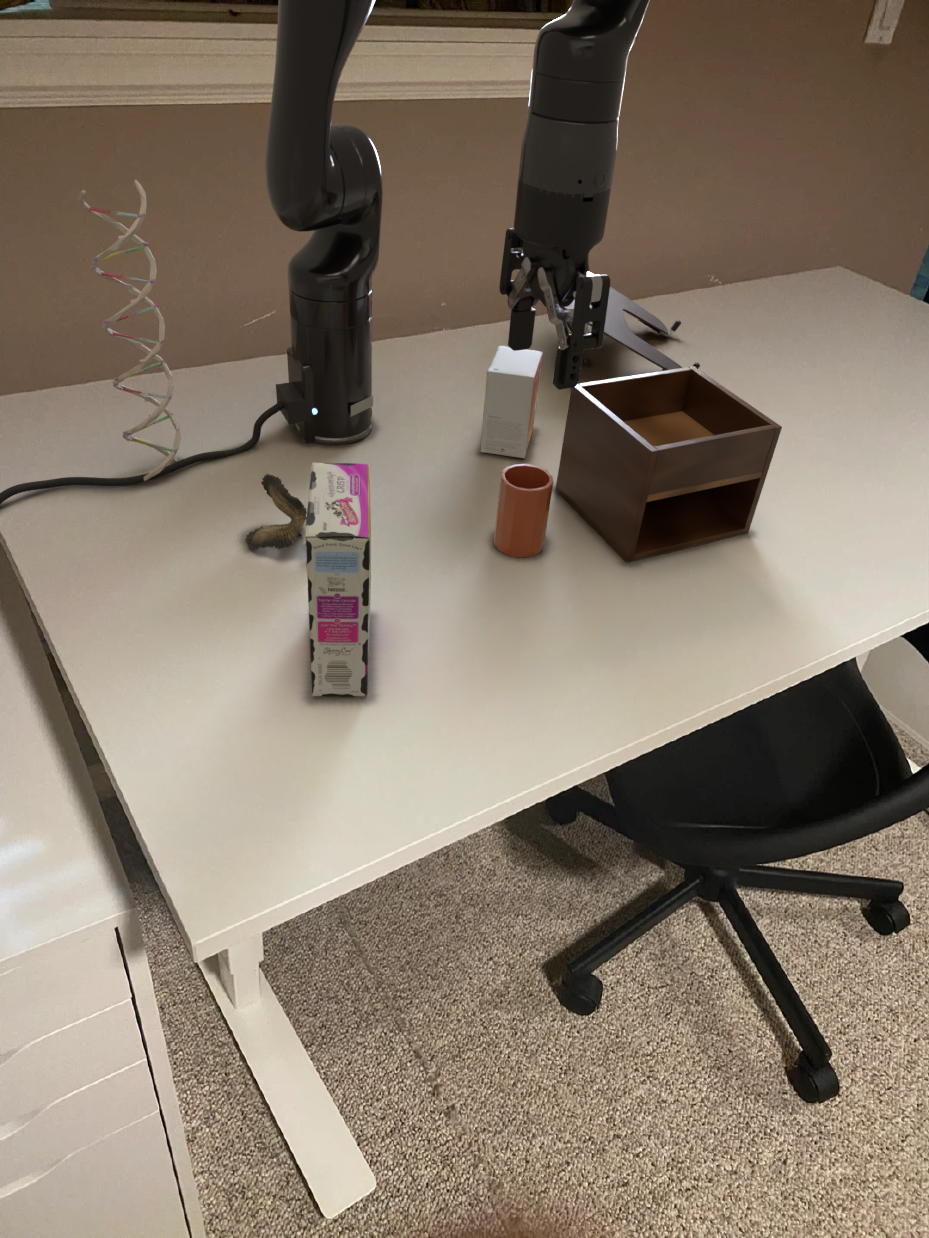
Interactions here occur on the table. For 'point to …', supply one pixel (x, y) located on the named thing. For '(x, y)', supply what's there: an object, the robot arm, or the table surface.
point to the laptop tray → (623, 335)
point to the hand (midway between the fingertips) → (541, 367)
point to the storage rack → (664, 460)
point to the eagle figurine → (285, 532)
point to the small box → (510, 401)
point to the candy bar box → (339, 578)
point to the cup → (523, 510)
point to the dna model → (134, 303)
